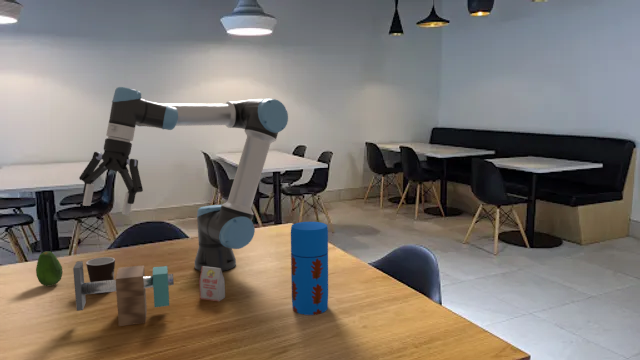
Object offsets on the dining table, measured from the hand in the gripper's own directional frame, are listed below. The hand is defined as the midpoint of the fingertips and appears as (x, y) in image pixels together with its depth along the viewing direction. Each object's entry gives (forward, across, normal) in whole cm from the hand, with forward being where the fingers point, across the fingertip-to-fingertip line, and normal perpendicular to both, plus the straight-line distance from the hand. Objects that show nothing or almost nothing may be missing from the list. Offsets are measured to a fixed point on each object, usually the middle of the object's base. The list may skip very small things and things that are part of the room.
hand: (105, 210), depth 151 cm
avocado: (+31, -26, +14) cm, 43 cm away
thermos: (+18, +63, +16) cm, 67 cm away
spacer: (+23, +23, +1) cm, 32 cm away
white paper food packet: (+22, +32, +16) cm, 42 cm away
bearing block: (+28, +17, -2) cm, 33 cm away
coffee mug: (+28, -6, +16) cm, 33 cm away
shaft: (+23, +15, -3) cm, 28 cm away
